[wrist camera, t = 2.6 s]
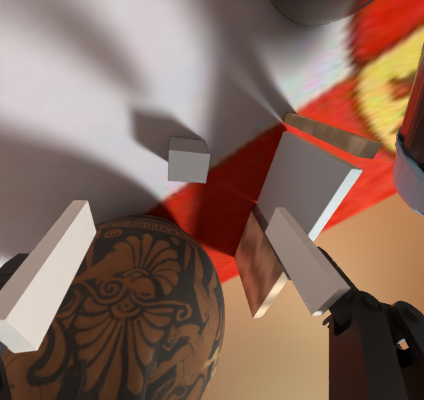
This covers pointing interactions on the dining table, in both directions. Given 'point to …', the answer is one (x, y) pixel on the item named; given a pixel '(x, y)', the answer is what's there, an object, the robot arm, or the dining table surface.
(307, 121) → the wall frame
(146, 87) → the dining table surface
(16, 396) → the vase
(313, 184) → the door
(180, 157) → the grey short block
